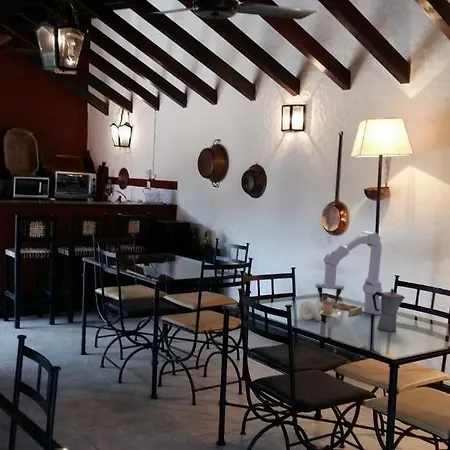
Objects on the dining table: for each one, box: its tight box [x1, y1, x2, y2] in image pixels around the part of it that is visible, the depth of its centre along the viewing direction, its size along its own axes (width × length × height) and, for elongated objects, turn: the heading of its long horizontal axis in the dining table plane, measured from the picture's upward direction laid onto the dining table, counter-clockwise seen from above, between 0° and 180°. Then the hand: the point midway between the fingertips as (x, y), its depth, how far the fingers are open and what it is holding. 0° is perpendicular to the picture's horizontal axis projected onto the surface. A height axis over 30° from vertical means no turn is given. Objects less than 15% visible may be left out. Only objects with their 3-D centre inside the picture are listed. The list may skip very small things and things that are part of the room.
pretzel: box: [298, 300, 323, 322], centre depth 309 cm, size 11×12×9 cm
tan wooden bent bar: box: [315, 300, 363, 317], centre depth 334 cm, size 21×13×3 cm, turn 51°
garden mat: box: [320, 309, 343, 318], centre depth 325 cm, size 14×8×1 cm, turn 51°
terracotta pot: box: [322, 299, 334, 314], centre depth 325 cm, size 6×6×6 cm
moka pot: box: [372, 288, 406, 333], centre depth 299 cm, size 10×15×20 cm, turn 89°
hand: (328, 302), depth 325 cm, fingers open, 7 cm apart
